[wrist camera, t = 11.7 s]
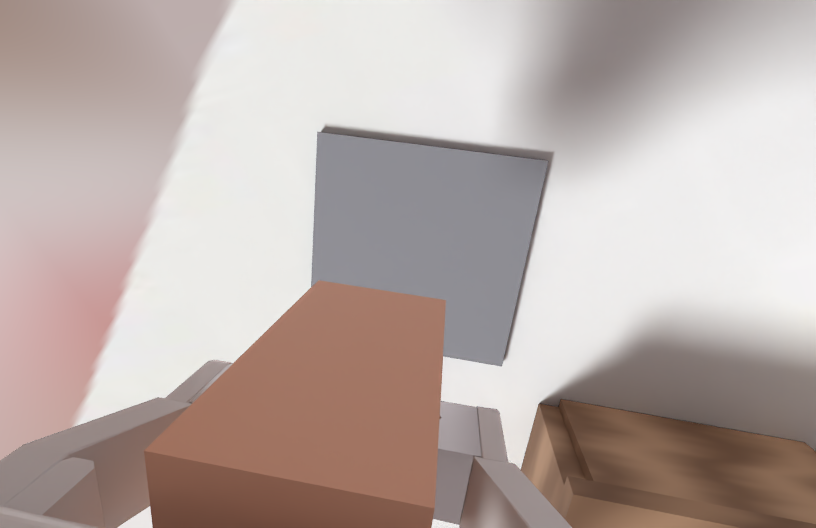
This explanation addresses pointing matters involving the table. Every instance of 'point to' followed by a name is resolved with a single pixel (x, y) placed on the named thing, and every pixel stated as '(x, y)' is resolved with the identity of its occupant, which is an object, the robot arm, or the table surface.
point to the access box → (666, 472)
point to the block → (314, 422)
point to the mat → (429, 230)
